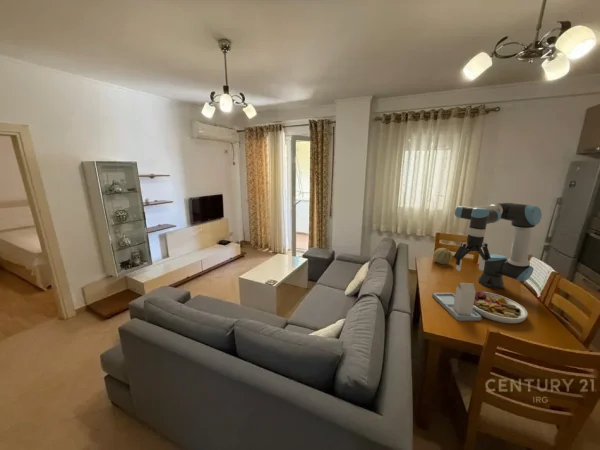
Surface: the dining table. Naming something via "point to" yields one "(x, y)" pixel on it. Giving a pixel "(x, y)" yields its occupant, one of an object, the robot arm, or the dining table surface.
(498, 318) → the plate of food
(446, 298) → the divided tray
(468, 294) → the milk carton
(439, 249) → the cantaloupe
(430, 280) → the dining table surface
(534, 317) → the dining table surface
